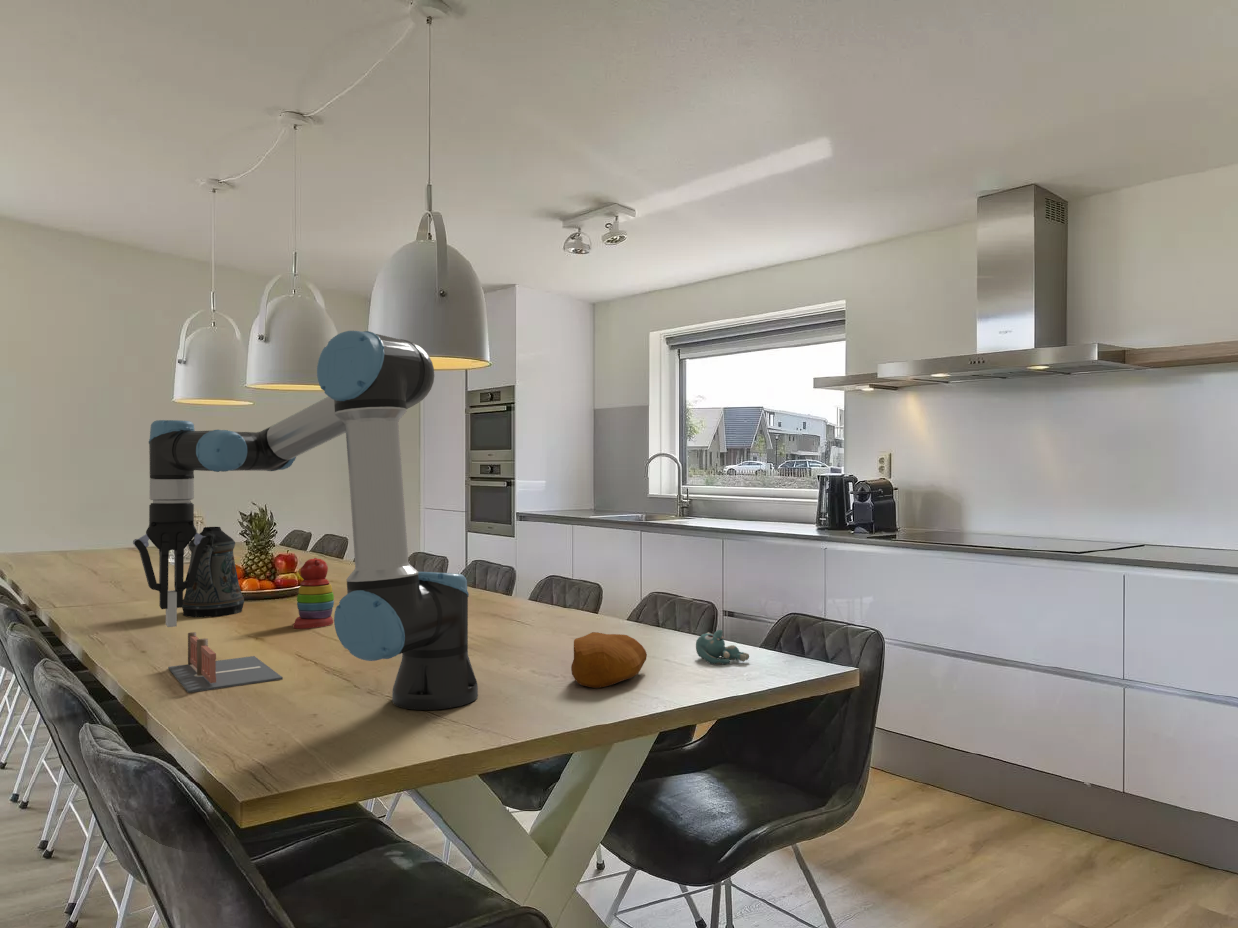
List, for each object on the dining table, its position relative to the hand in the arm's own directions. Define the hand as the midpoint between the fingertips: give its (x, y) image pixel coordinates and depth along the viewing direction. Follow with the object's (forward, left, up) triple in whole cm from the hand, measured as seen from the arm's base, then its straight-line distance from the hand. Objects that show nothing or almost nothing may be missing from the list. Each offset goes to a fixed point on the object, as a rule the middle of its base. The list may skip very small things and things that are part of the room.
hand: (171, 625), depth 163 cm
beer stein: (+89, -24, -12) cm, 93 cm away
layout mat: (+8, -11, -12) cm, 18 cm away
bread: (-44, -72, -13) cm, 85 cm away
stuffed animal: (-45, -100, -13) cm, 110 cm away
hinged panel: (+1, -7, -11) cm, 13 cm away
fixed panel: (+13, -7, -12) cm, 19 cm away
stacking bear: (+53, -42, -12) cm, 68 cm away
